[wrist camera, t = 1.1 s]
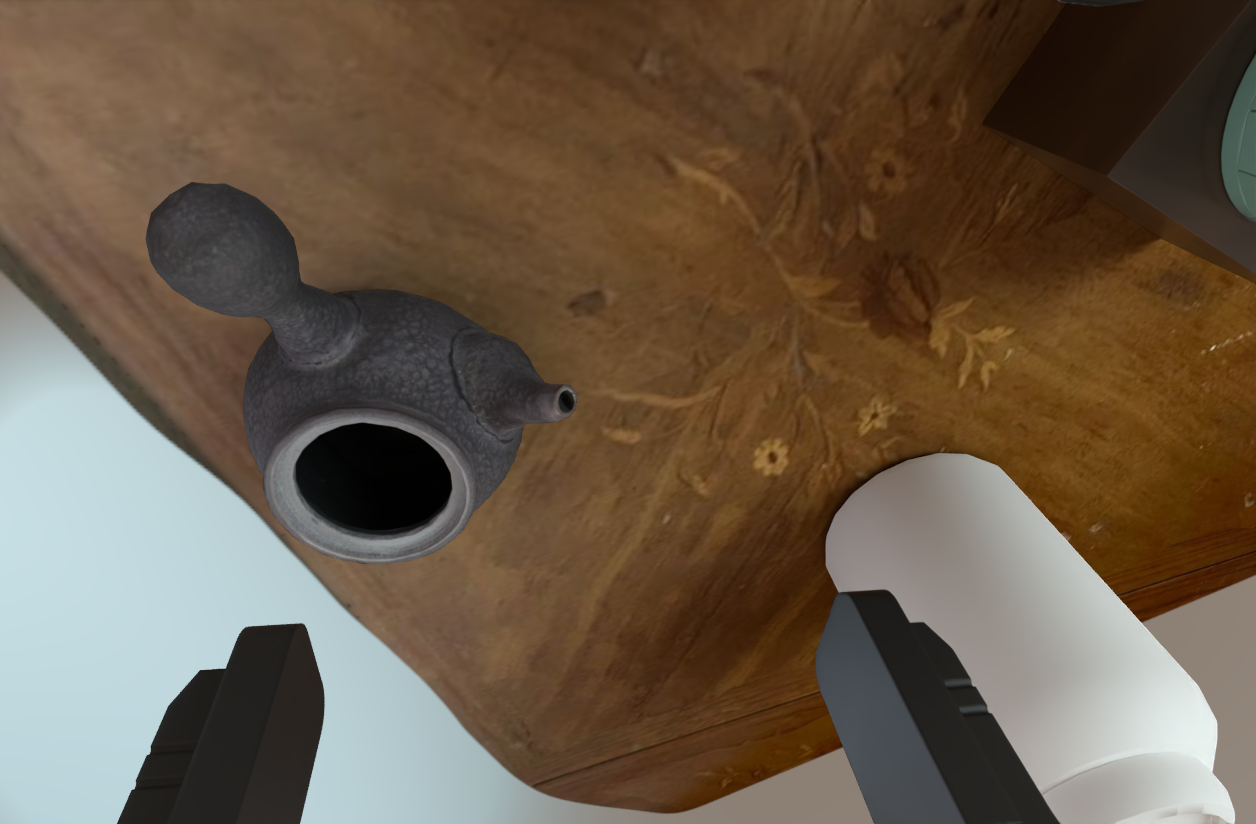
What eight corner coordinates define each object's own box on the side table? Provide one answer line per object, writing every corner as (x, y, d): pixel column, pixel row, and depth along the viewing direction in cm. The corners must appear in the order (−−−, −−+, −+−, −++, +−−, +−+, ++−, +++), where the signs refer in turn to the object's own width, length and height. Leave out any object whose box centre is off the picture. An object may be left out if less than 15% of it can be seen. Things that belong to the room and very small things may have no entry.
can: (869, 616, 50) (1042, 950, 34) (785, 522, 43) (949, 880, 27) (1034, 525, 47) (1314, 845, 31) (970, 410, 40) (1282, 738, 24)
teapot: (617, 411, 37) (648, 547, 29) (362, 521, 39) (323, 679, 31) (417, 44, 26) (376, 95, 18) (79, 220, 28) (-96, 338, 20)
